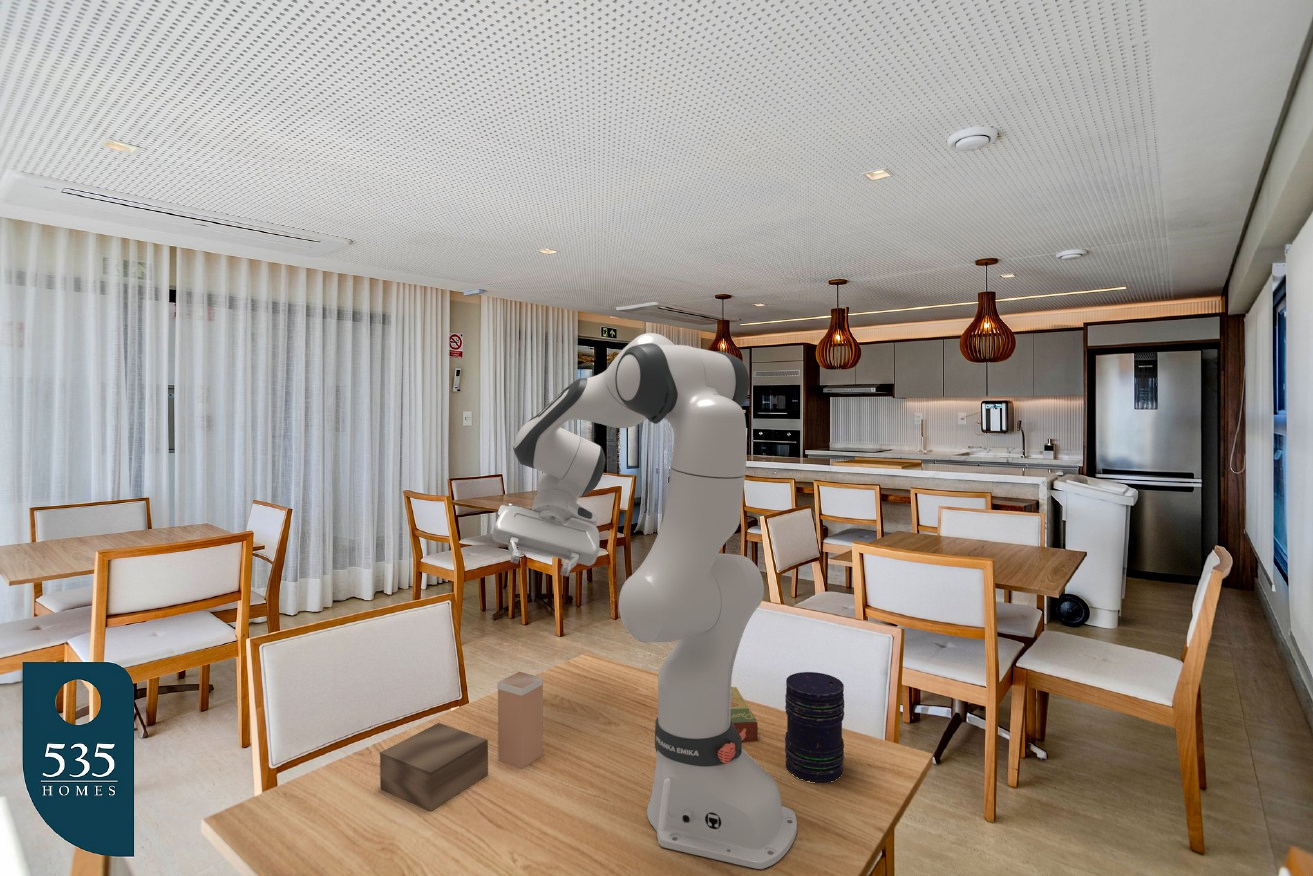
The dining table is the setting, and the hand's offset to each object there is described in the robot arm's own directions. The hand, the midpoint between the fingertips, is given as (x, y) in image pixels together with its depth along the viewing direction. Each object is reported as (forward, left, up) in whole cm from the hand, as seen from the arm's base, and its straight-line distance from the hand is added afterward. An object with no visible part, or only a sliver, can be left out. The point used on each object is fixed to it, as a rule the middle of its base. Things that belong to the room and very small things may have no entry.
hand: (540, 567), depth 119 cm
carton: (-26, -26, -34) cm, 50 cm away
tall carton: (0, +5, -33) cm, 34 cm away
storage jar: (-46, -18, -33) cm, 59 cm away
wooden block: (+7, +18, -33) cm, 38 cm away
